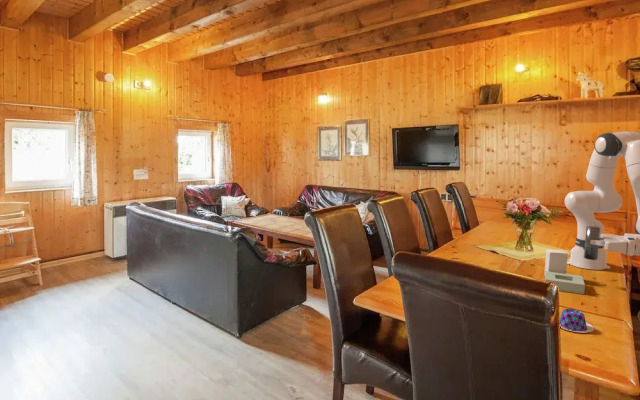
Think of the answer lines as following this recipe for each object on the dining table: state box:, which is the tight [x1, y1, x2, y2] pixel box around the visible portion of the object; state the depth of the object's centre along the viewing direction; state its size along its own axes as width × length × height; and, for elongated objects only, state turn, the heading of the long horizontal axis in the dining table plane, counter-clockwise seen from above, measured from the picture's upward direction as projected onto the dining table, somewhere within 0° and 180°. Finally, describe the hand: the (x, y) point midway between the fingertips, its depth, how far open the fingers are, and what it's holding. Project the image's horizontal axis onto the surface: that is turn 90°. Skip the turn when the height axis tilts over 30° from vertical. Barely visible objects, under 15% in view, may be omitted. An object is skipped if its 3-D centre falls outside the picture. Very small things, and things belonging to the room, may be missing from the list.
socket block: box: [544, 270, 586, 295], centre depth 169 cm, size 14×14×4 cm
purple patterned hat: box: [559, 308, 595, 334], centre depth 130 cm, size 12×12×5 cm
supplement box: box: [543, 248, 568, 276], centre depth 181 cm, size 7×7×13 cm
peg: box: [584, 226, 600, 260], centre depth 172 cm, size 5×5×14 cm
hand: (589, 240), depth 172 cm, fingers closed on peg, 5 cm apart
